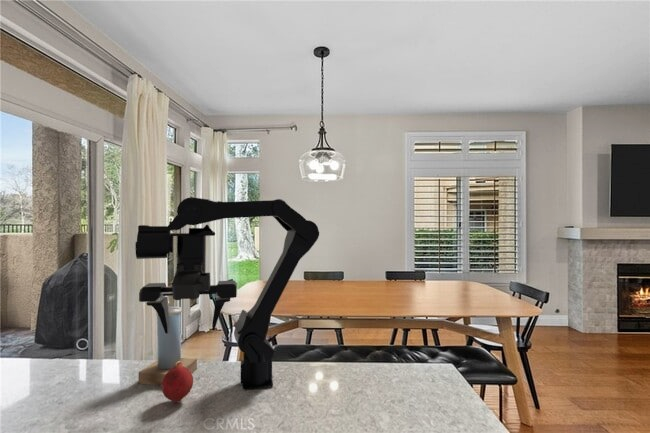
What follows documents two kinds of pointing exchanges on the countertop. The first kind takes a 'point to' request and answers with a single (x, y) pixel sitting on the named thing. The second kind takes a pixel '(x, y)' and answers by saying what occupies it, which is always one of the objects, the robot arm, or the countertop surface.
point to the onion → (177, 382)
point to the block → (162, 372)
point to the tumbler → (169, 340)
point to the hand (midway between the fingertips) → (190, 331)
